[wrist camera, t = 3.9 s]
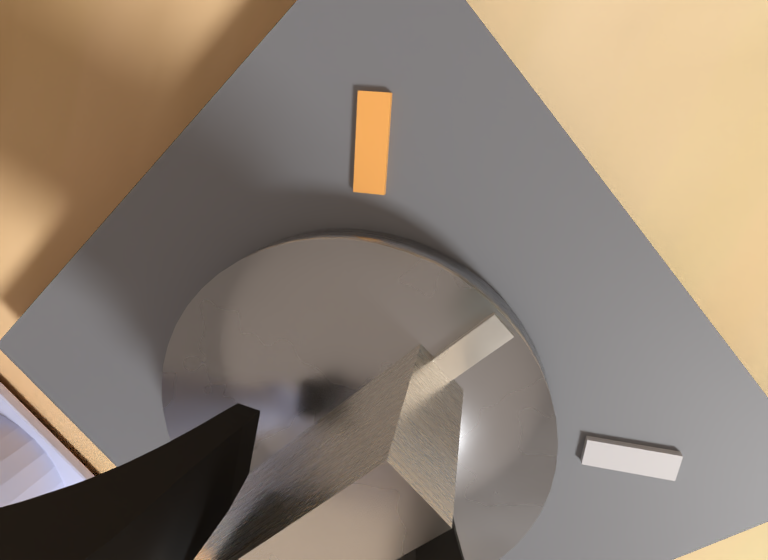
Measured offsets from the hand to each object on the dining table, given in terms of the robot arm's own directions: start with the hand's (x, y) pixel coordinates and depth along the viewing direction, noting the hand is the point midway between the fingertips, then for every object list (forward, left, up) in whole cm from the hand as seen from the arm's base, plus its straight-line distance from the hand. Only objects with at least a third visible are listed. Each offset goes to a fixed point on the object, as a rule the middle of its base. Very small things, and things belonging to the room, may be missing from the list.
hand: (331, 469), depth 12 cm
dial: (0, 0, -3) cm, 3 cm away
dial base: (0, 0, -4) cm, 4 cm away
